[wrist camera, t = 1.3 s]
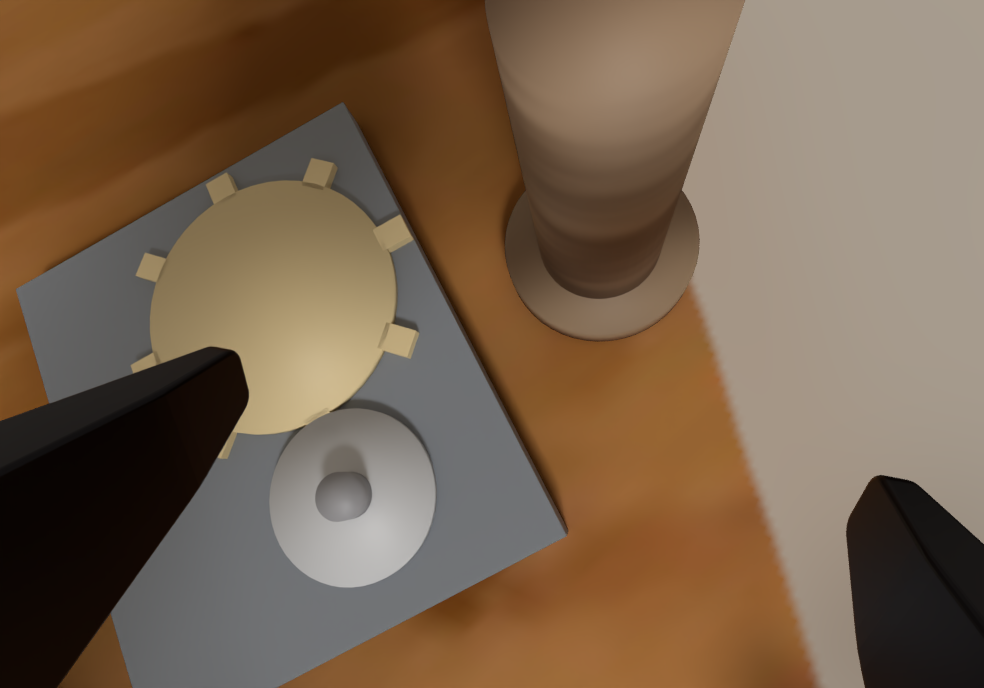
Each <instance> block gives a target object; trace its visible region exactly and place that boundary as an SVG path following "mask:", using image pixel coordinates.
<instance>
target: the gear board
mask: <svg viewBox="0 0 984 688" xmlns="http://www.w3.org/2000/svg"><path fill="white" fill-rule="evenodd" d="M16 291H17V295H18V298H19V301H20V305H21V308H22V312H23V315H24V318H25V322H26V325H27V329H28V332H29V336H30V339H31V342H32V346H33V349H34V353H35V356H36V360H37V363H38V366H39V370H40V373H41V377H42V380H43V383H44V387H45V390H46V394H47V397H48V401H49V403H52V402H55V401H58V400H61V399H63V398H66V397H69V396H72V395H74V394H77V393H80V392H83V391H86V390H88V389H91V388H94V387H97V386H100V385H102V384H105V383H108V382H111V381H113V380H116V379H119V378H122V377H125V376H127V375H130V374H133V373H136V372H139V371H141V370H144V369H147V368H150V367H152V366H155V365H158V364H161V363H164V362H166V361H169V360H172V359H175V358H178V357H180V356H183V355H186V354H189V353H191V352H194V351H197V350H200V349H203V348H205V347H209V346H215V347H221V348H226V349H231V350H234V351H235V352H237V354H238V355H239V356H240V359H241V362H242V366H243V370H244V373H245V377H246V381H247V385H248V389H249V401H248V404H247V407H246V409H245V410H244V412H243V414H242V416H241V417H240V419H239V421H238V423H237V424H236V426H235V428H234V430H233V431H232V433H231V435H230V437H229V438H228V440H227V442H226V444H225V445H224V447H223V449H222V451H221V452H220V454H219V456H218V458H217V459H216V461H215V463H214V465H213V466H212V468H211V470H210V472H209V473H208V475H207V477H206V478H205V480H204V481H203V483H202V485H201V486H200V488H199V489H198V491H197V492H196V494H195V495H194V497H193V498H192V500H191V501H190V503H189V504H188V505H187V507H186V508H185V510H184V511H183V512H182V514H181V515H180V517H179V518H178V519H177V521H176V522H175V524H174V525H173V526H172V528H171V529H170V531H169V532H168V533H167V535H166V536H165V538H164V539H163V540H162V542H161V543H160V545H159V546H158V547H157V549H156V550H155V552H154V553H153V554H152V556H151V557H150V559H149V560H148V561H147V563H146V564H145V566H144V567H143V568H142V570H141V571H140V573H139V574H138V575H137V577H136V578H135V580H134V581H133V582H132V584H131V585H130V587H129V588H128V589H127V591H126V592H125V594H124V595H123V596H122V598H121V599H120V601H119V602H118V603H117V605H116V606H115V608H114V609H113V610H112V612H111V616H112V620H113V623H114V626H115V630H116V633H117V637H118V640H119V643H120V647H121V650H122V654H123V657H124V661H125V664H126V667H127V671H128V674H129V678H130V681H131V685H132V688H277V687H279V686H281V685H283V684H285V683H287V682H288V681H290V680H292V679H294V678H296V677H298V676H300V675H302V674H304V673H306V672H308V671H309V670H311V669H313V668H315V667H317V666H319V665H321V664H323V663H325V662H327V661H329V660H331V659H332V658H334V657H336V656H338V655H340V654H342V653H344V652H346V651H348V650H350V649H352V648H353V647H355V646H357V645H359V644H361V643H363V642H365V641H367V640H369V639H371V638H373V637H374V636H376V635H378V634H380V633H382V632H384V631H386V630H388V629H390V628H392V627H394V626H396V625H397V624H399V623H401V622H403V621H405V620H407V619H409V618H411V617H413V616H415V615H417V614H418V613H420V612H422V611H424V610H426V609H428V608H430V607H432V606H434V605H436V604H438V603H440V602H441V601H443V600H445V599H447V598H449V597H451V596H453V595H455V594H457V593H459V592H461V591H462V590H464V589H466V588H468V587H470V586H472V585H474V584H476V583H478V582H480V581H482V580H484V579H485V578H487V577H489V576H491V575H493V574H495V573H497V572H499V571H501V570H503V569H505V568H506V567H508V566H510V565H512V564H514V563H516V562H518V561H520V560H522V559H524V558H526V557H528V556H529V555H531V554H533V553H535V552H537V551H539V550H541V549H543V548H545V547H547V546H549V545H550V544H552V543H554V542H556V541H558V540H560V539H562V538H564V537H566V536H567V534H568V529H567V527H566V526H565V524H564V522H563V520H562V518H561V516H560V514H559V512H558V510H557V508H556V506H555V504H554V502H553V500H552V498H551V497H550V495H549V493H548V491H547V489H546V487H545V485H544V483H543V481H542V479H541V477H540V475H539V473H538V471H537V469H536V468H535V466H534V464H533V462H532V460H531V458H530V456H529V454H528V452H527V450H526V448H525V446H524V444H523V442H522V440H521V439H520V437H519V435H518V433H517V431H516V429H515V427H514V425H513V423H512V421H511V419H510V417H509V415H508V413H507V412H506V410H505V408H504V406H503V404H502V402H501V400H500V398H499V396H498V394H497V392H496V390H495V388H494V386H493V384H492V383H491V381H490V379H489V377H488V375H487V373H486V371H485V369H484V367H483V365H482V363H481V361H480V359H479V357H478V355H477V354H476V352H475V350H474V348H473V346H472V344H471V342H470V340H469V338H468V336H467V334H466V332H465V330H464V328H463V326H462V325H461V323H460V321H459V319H458V317H457V315H456V313H455V311H454V309H453V307H452V305H451V303H450V301H449V299H448V297H447V296H446V294H445V292H444V290H443V288H442V286H441V284H440V282H439V280H438V278H437V276H436V274H435V272H434V270H433V268H432V267H431V265H430V263H429V261H428V259H427V257H426V255H425V253H424V251H423V249H422V247H421V245H420V243H419V241H418V240H417V238H416V236H415V234H414V232H413V230H412V228H411V226H410V224H409V222H408V220H407V218H406V216H405V214H404V212H403V211H402V209H401V207H400V205H399V203H398V201H397V199H396V197H395V195H394V193H393V191H392V189H391V187H390V185H389V183H388V182H387V180H386V178H385V176H384V174H383V172H382V170H381V168H380V166H379V164H378V162H377V160H376V158H375V156H374V154H373V153H372V151H371V149H370V147H369V145H368V143H367V141H366V139H365V137H364V135H363V133H362V131H361V129H360V127H359V125H358V124H357V122H356V120H355V119H354V117H353V116H352V114H351V113H350V112H349V110H348V109H347V107H346V106H345V104H344V103H343V102H342V103H340V104H339V105H337V106H335V107H333V108H332V109H330V110H328V111H326V112H325V113H323V114H321V115H319V116H318V117H316V118H314V119H312V120H311V121H309V122H307V123H305V124H304V125H302V126H300V127H298V128H297V129H295V130H293V131H291V132H290V133H288V134H286V135H284V136H283V137H281V138H279V139H277V140H276V141H274V142H272V143H270V144H269V145H267V146H265V147H264V148H262V149H260V150H258V151H257V152H255V153H253V154H251V155H250V156H248V157H246V158H244V159H243V160H241V161H239V162H237V163H236V164H234V165H232V166H230V167H229V168H227V169H225V170H223V171H222V172H220V173H218V174H216V175H215V176H213V177H211V178H209V179H208V180H206V181H204V182H202V183H201V184H199V185H197V186H195V187H194V188H192V189H190V190H188V191H187V192H185V193H183V194H181V195H180V196H178V197H176V198H174V199H173V200H171V201H169V202H167V203H166V204H164V205H162V206H160V207H159V208H157V209H155V210H153V211H152V212H150V213H148V214H146V215H145V216H143V217H141V218H140V219H138V220H136V221H134V222H133V223H131V224H129V225H127V226H126V227H124V228H122V229H120V230H119V231H117V232H115V233H113V234H112V235H110V236H108V237H106V238H105V239H103V240H101V241H99V242H98V243H96V244H94V245H92V246H91V247H89V248H87V249H85V250H84V251H82V252H80V253H78V254H77V255H75V256H73V257H71V258H70V259H68V260H66V261H64V262H63V263H61V264H59V265H57V266H56V267H54V268H52V269H50V270H49V271H47V272H45V273H43V274H42V275H40V276H38V277H36V278H35V279H33V280H31V281H29V282H28V283H26V284H24V285H22V286H21V287H19V288H17V289H16Z"/></svg>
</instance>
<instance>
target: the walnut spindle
mask: <svg viewBox="0 0 984 688" xmlns="http://www.w3.org/2000/svg"><path fill="white" fill-rule="evenodd" d="M744 2H745V0H485V10H486V16H487V22H488V26H489V30H490V35H491V39H492V44H493V48H494V52H495V57H496V61H497V65H498V70H499V74H500V79H501V83H502V87H503V92H504V96H505V101H506V105H507V109H508V114H509V118H510V123H511V127H512V131H513V136H514V140H515V144H516V149H517V153H518V158H519V162H520V166H521V171H522V175H523V180H524V184H525V188H526V190H525V192H524V193H523V194H522V196H521V197H520V198H519V200H518V202H517V204H516V205H515V207H514V209H513V211H512V214H511V216H510V219H509V222H508V226H507V230H506V237H505V256H506V262H507V267H508V270H509V273H510V277H511V279H512V281H513V284H514V286H515V288H516V291H517V293H518V295H519V297H520V298H521V300H522V301H523V303H524V304H525V306H526V307H527V308H528V309H529V311H530V312H531V313H532V314H533V315H534V316H535V317H536V318H537V319H539V320H540V321H541V322H542V323H544V324H545V325H547V326H548V327H550V328H551V329H553V330H555V331H557V332H559V333H561V334H563V335H566V336H569V337H572V338H576V339H581V340H586V341H612V340H618V339H623V338H626V337H630V336H633V335H636V334H638V333H640V332H642V331H644V330H646V329H648V328H650V327H651V326H653V325H654V324H656V323H657V322H659V321H660V320H661V319H662V318H663V317H665V316H666V315H667V314H668V313H669V312H670V311H671V310H672V308H673V307H674V306H675V305H676V303H677V302H678V301H679V299H680V298H681V296H682V295H683V293H684V291H685V289H686V287H687V285H688V283H689V281H690V279H691V278H692V276H693V273H694V270H695V267H696V264H697V259H698V254H699V240H700V239H699V229H698V224H697V220H696V216H695V213H694V211H693V208H692V206H691V204H690V202H689V200H688V199H687V197H686V195H685V194H684V192H683V191H682V187H683V184H684V181H685V178H686V175H687V172H688V169H689V166H690V163H691V161H692V157H693V154H694V151H695V149H696V145H697V143H698V139H699V137H700V133H701V131H702V128H703V124H704V122H705V119H706V116H707V113H708V110H709V107H710V104H711V101H712V98H713V95H714V92H715V89H716V86H717V82H718V80H719V77H720V74H721V71H722V68H723V65H724V62H725V59H726V56H727V53H728V50H729V47H730V44H731V41H732V38H733V35H734V32H735V29H736V26H737V23H738V20H739V17H740V14H741V11H742V8H743V5H744Z"/></svg>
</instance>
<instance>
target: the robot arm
mask: <svg viewBox="0 0 984 688" xmlns="http://www.w3.org/2000/svg"><path fill="white" fill-rule="evenodd" d="M248 401H249V389H248V385H247V381H246V377H245V373H244V370H243V366H242V362H241V359H240V356H239V355H238V354H237V352H235V351H234V350H231V349H226V348H221V347H215V346H209V347H205V348H203V349H200V350H197V351H194V352H191V353H189V354H186V355H183V356H180V357H178V358H175V359H172V360H169V361H166V362H164V363H161V364H158V365H155V366H152V367H150V368H147V369H144V370H141V371H139V372H136V373H133V374H130V375H127V376H125V377H122V378H119V379H116V380H113V381H111V382H108V383H105V384H102V385H100V386H97V387H94V388H91V389H88V390H86V391H83V392H80V393H77V394H74V395H72V396H69V397H66V398H63V399H61V400H58V401H55V402H52V403H49V404H47V405H44V406H41V407H38V408H35V409H33V410H30V411H27V412H24V413H22V414H19V415H16V416H13V417H10V418H8V419H5V420H2V421H0V688H57V687H58V686H59V684H60V683H61V682H62V680H63V679H64V677H65V676H66V675H67V673H68V672H69V670H70V669H71V668H72V666H73V665H74V663H75V662H76V661H77V659H78V658H79V656H80V655H81V654H82V652H83V651H84V649H85V648H86V647H87V645H88V644H89V642H90V641H91V640H92V638H93V637H94V635H95V634H96V633H97V631H98V630H99V628H100V627H101V626H102V624H103V623H104V621H105V620H106V619H107V617H108V616H109V615H110V613H111V612H112V610H113V609H114V608H115V606H116V605H117V603H118V602H119V601H120V599H121V598H122V596H123V595H124V594H125V592H126V591H127V589H128V588H129V587H130V585H131V584H132V582H133V581H134V580H135V578H136V577H137V575H138V574H139V573H140V571H141V570H142V568H143V567H144V566H145V564H146V563H147V561H148V560H149V559H150V557H151V556H152V554H153V553H154V552H155V550H156V549H157V547H158V546H159V545H160V543H161V542H162V540H163V539H164V538H165V536H166V535H167V533H168V532H169V531H170V529H171V528H172V526H173V525H174V524H175V522H176V521H177V519H178V518H179V517H180V515H181V514H182V512H183V511H184V510H185V508H186V507H187V505H188V504H189V503H190V501H191V500H192V498H193V497H194V495H195V494H196V492H197V491H198V489H199V488H200V486H201V485H202V483H203V481H204V480H205V478H206V477H207V475H208V473H209V472H210V470H211V468H212V466H213V465H214V463H215V461H216V459H217V458H218V456H219V454H220V452H221V451H222V449H223V447H224V445H225V444H226V442H227V440H228V438H229V437H230V435H231V433H232V431H233V430H234V428H235V426H236V424H237V423H238V421H239V419H240V417H241V416H242V414H243V412H244V410H245V409H246V407H247V404H248ZM846 537H847V548H848V558H849V569H850V580H851V590H852V601H853V611H854V623H855V633H856V641H857V649H858V655H859V660H860V665H861V671H862V676H863V680H864V685H865V688H984V544H983V543H982V542H981V541H980V540H979V539H977V538H976V537H975V536H974V535H973V534H972V533H971V532H970V531H969V530H968V529H966V528H965V527H964V526H963V525H962V524H961V523H960V522H959V521H958V520H956V519H955V518H954V517H953V516H952V515H951V514H950V513H949V512H948V511H947V510H945V509H944V508H943V507H942V506H941V505H940V504H939V503H938V502H936V501H935V500H934V499H933V498H932V497H931V496H930V495H928V493H927V492H925V491H924V490H923V489H922V488H921V487H920V486H919V485H917V484H916V483H914V482H912V481H909V480H905V479H900V478H895V477H889V476H884V475H879V476H875V477H874V478H872V479H871V481H870V482H869V483H868V485H867V486H866V489H865V490H864V492H863V494H862V495H861V497H860V499H859V501H858V502H857V504H856V506H855V508H854V509H853V511H852V513H851V515H850V517H849V519H848V523H847V531H846Z"/></svg>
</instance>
